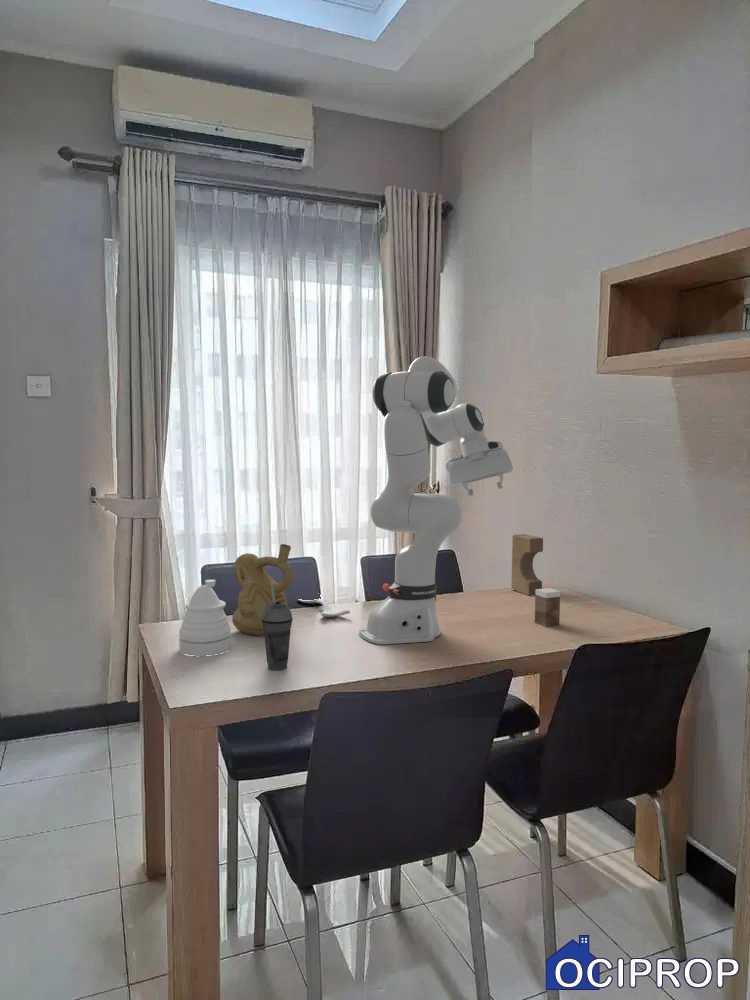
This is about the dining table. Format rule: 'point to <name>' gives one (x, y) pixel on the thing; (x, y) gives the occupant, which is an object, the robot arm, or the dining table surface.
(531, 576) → the decorative block
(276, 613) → the beverage cup
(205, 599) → the honey pot
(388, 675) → the dining table surface
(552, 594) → the walnut block
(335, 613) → the white slender handled part
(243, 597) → the ceramic vessel
